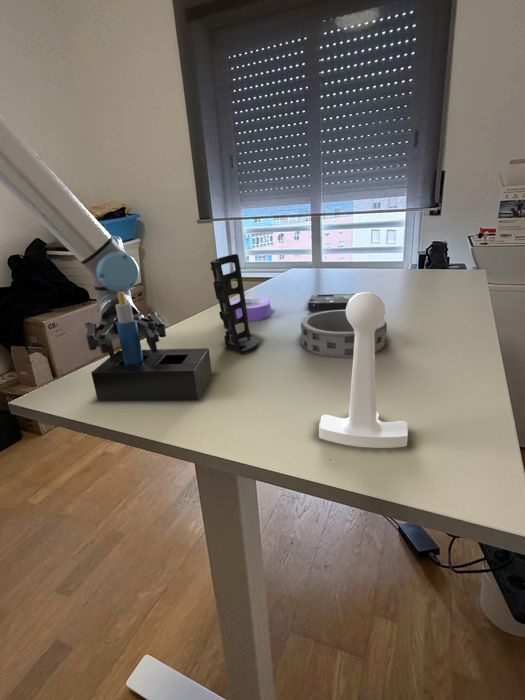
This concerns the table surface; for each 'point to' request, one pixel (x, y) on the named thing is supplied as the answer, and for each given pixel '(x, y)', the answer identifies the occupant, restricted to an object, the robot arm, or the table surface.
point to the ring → (334, 334)
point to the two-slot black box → (154, 376)
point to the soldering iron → (128, 333)
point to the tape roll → (255, 308)
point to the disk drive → (329, 302)
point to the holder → (229, 311)
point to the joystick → (364, 386)
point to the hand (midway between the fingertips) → (133, 348)
